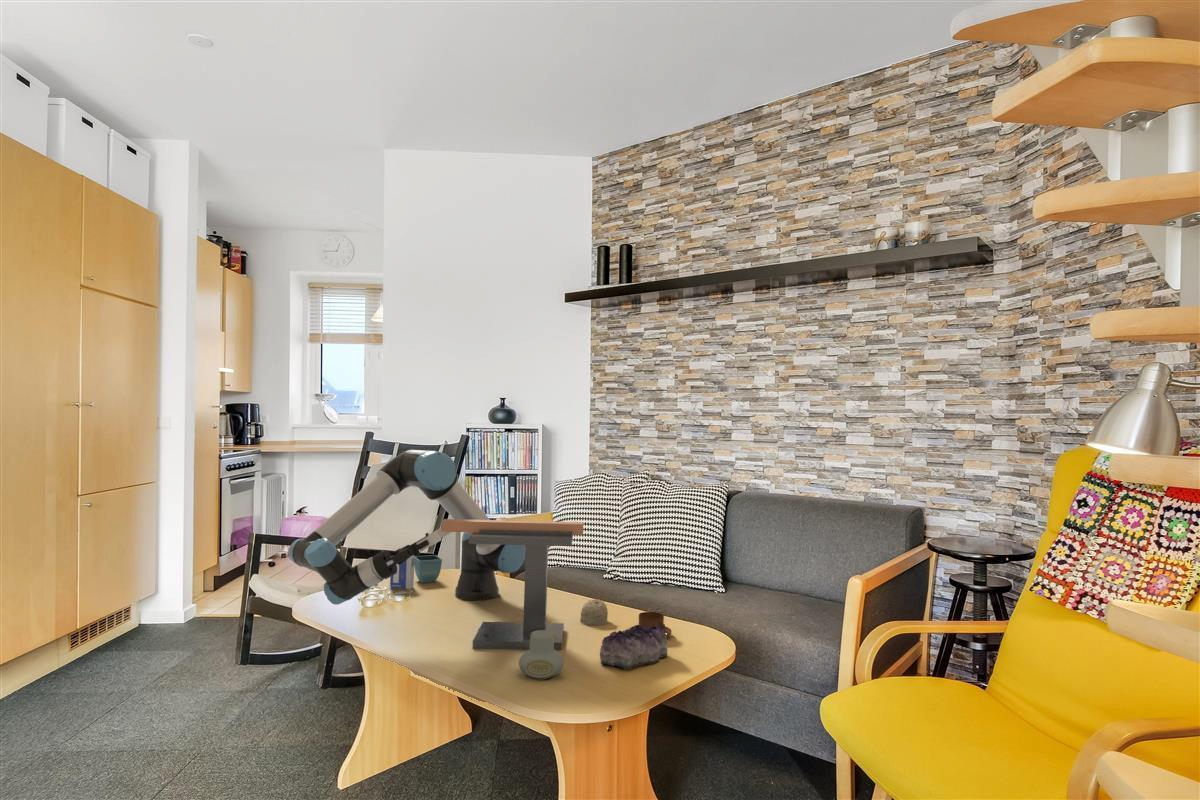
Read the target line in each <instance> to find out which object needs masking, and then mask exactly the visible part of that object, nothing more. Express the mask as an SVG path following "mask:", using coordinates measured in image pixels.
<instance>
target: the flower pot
mask: <svg viewBox="0 0 1200 800" xmlns="http://www.w3.org/2000/svg"><path fill="white" fill-rule="evenodd" d="M414 556H415V557H414V574H415V575H416V579H418V581H419V582H420V583H423V584H424V583H425V584H426V583H434V582H436V581H437V580H438V578H439V576H440V573H441V570H442V565H443V564H442V563H443V558H441V557H440V556H438V555H436V554H433V555H419V556H417V555H414Z"/></svg>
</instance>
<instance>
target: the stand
mask: <svg viewBox="0 0 1200 800" xmlns="http://www.w3.org/2000/svg"><path fill="white" fill-rule="evenodd" d="M573 537H574V535H572V532H571V531H528V530H485V529H480V533H478V532H473V533H472V534H471V535H470V536H469V544H498V545H524V546H525V559H524V561H525V562H524V590H523V592H524V594H523V622H521V621H520V622H519V621H518V622H517V621H509V622H508V621H482V622H481V625H480V627H479V628H478V630H477V632H476V634H475V635H474V638H473V640H472V649H488V650H491V649H492V650H494V649H495V650H497V649H498V650H529V649H530V634H531V633H532V632H533V631H537V630H547V631H551V632H553V634H554V650H556V651H562V648H563V640H564V628H565V627H564V626H565V625H564V623H563V622H547V598H548V594H547V593H548V567H549V566H548V565H549V563H548V561H549V547H550V546H553V547H572V545H573Z"/></svg>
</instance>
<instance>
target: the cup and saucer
mask: <svg viewBox="0 0 1200 800" xmlns="http://www.w3.org/2000/svg"><path fill="white" fill-rule="evenodd" d="M658 624H660V625H663V626H664V631H665V633H667V635H666V636H667V638H668V637H670V635H671V634H672V632H673V631H672V629H671V628H669V627H667V626H666V624H665V616H664V614H662V613H660V612H657V611H643V612H640V613H639V614H638V625H639V626H643V627H644V626H645V625H648V626H649V627H653V626H655V627H657V626H658ZM636 625H637V624H635V625H634V626H636ZM632 627H633V626H630V628H632Z"/></svg>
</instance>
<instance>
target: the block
mask: <svg viewBox="0 0 1200 800" xmlns="http://www.w3.org/2000/svg"><path fill="white" fill-rule="evenodd" d="M440 528H441V532H451V533H464V532H478V533H480V529H485V530H528V531H571V532H572V535H573V536H575V535H576V536H583V535H584V522H582V521H548V520H547V521H545V520H544V521H543V520H541V521H540V520H539V521H538V520H537V521H536V520H534V521H533V520H503V519H501V520H500V519H498V520H497V519H490V520H465V519H453V518H444V519H442V520H441V527H440Z"/></svg>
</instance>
